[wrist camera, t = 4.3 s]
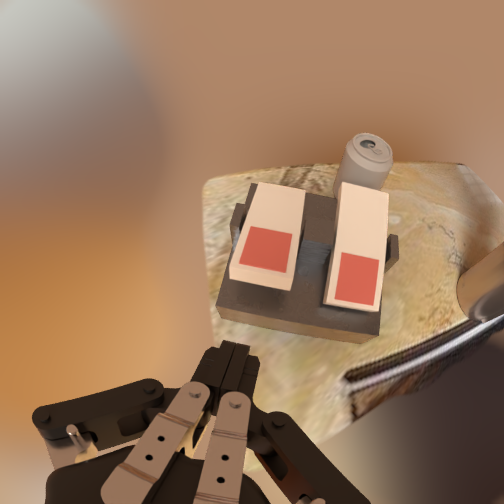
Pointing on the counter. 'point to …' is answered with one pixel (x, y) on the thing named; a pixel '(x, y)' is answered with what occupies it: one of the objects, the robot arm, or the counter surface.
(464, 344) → the counter surface
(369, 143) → the can
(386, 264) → the switch box
